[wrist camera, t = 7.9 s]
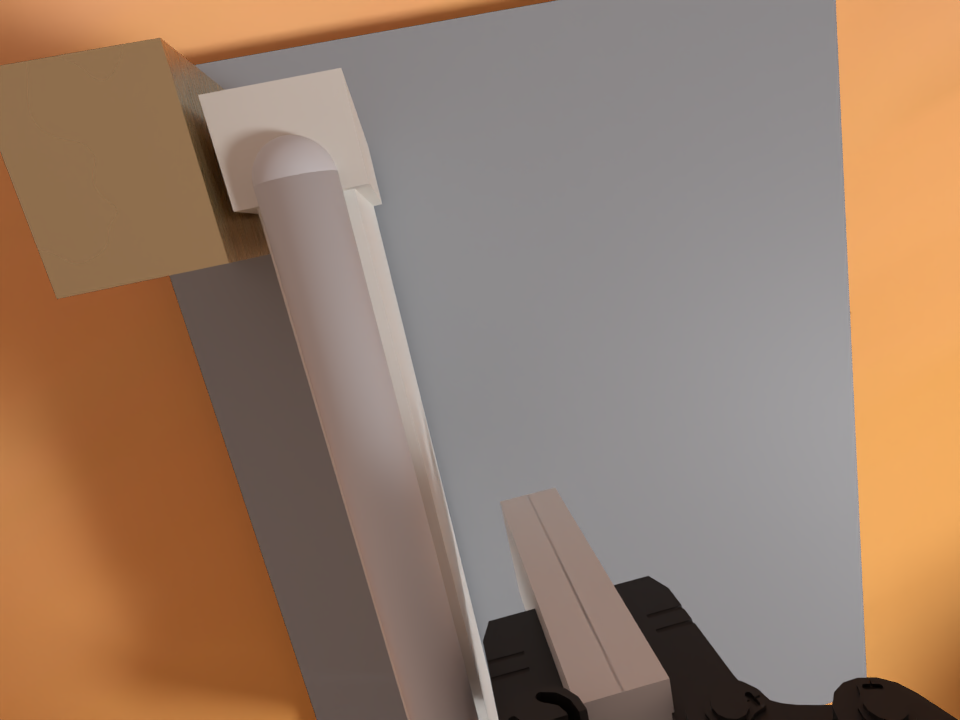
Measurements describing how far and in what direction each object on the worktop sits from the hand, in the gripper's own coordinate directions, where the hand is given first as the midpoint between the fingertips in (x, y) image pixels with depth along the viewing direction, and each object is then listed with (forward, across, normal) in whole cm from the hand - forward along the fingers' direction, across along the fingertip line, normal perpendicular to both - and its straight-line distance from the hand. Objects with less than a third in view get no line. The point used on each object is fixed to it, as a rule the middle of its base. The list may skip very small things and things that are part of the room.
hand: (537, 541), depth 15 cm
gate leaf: (+4, +3, -2) cm, 5 cm away
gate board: (+6, -2, 0) cm, 6 cm away
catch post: (+6, +5, -10) cm, 13 cm away
